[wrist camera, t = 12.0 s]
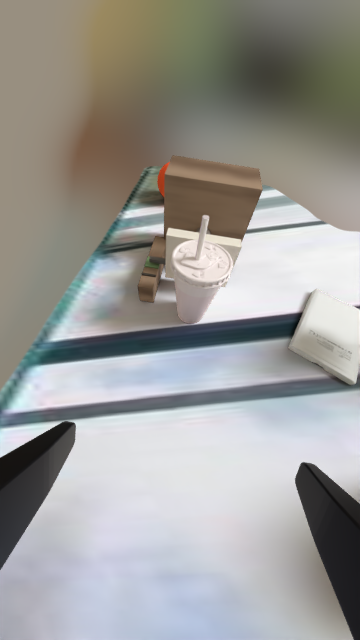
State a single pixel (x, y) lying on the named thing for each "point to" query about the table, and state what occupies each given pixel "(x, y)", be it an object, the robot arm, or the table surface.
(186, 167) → the brown blocky piece
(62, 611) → the table surface
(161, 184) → the clementine
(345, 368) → the external hard drive
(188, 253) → the smoothie
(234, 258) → the cream flat box
